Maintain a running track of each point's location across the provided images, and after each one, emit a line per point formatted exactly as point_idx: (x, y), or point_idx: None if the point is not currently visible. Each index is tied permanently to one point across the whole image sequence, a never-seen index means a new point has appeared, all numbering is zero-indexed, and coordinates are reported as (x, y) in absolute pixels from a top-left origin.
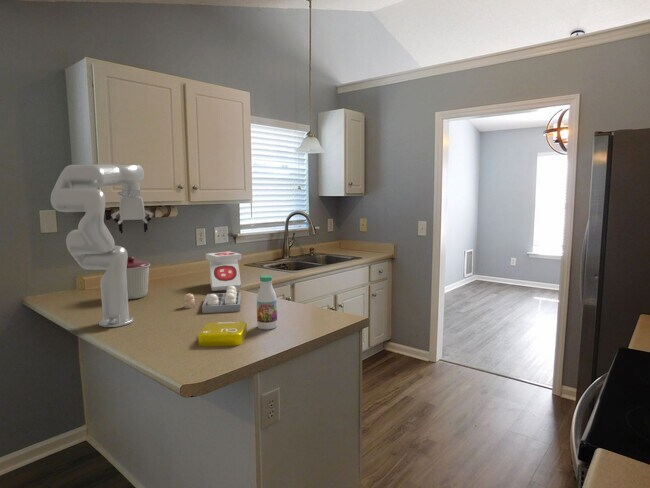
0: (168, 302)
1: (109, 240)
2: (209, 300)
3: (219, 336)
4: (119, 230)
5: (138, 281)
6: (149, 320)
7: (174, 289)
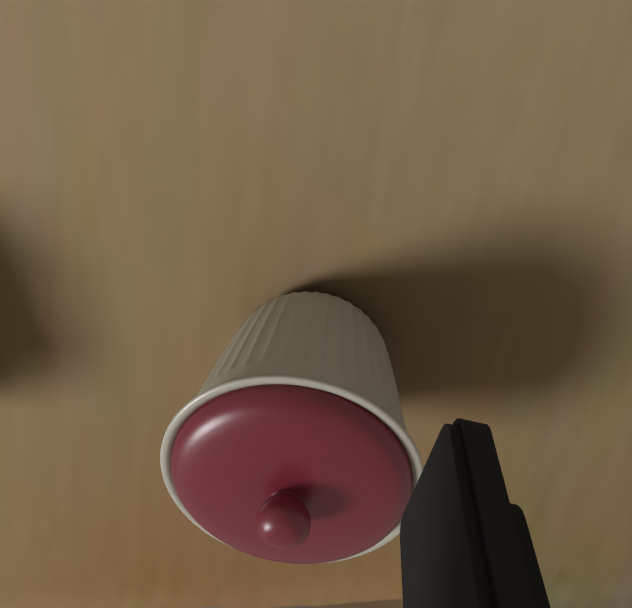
0: (148, 104)
1: None
2: None
3: None
4: (513, 506)
5: (275, 331)
6: None
7: (101, 382)
